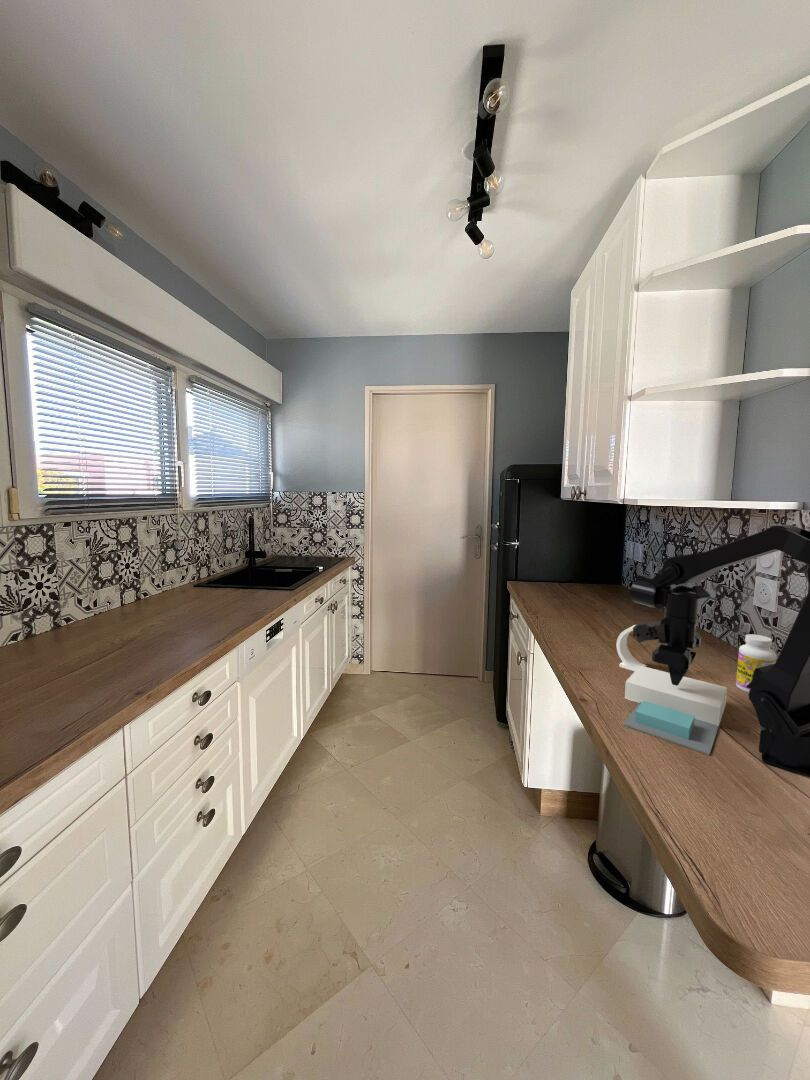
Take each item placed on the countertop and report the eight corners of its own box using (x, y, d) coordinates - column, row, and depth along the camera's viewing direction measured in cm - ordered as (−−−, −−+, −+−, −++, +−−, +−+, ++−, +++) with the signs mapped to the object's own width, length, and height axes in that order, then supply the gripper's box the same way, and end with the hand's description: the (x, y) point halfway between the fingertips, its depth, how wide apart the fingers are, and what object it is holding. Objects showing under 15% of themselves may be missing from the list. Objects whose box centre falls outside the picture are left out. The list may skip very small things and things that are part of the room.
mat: (718, 727, 81) (718, 726, 81) (709, 755, 72) (709, 753, 72) (639, 703, 91) (639, 701, 90) (623, 725, 82) (623, 724, 82)
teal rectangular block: (689, 728, 76) (688, 739, 76) (694, 715, 81) (694, 726, 81) (635, 711, 82) (635, 721, 83) (643, 700, 87) (642, 710, 87)
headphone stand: (639, 672, 106) (641, 627, 105) (615, 665, 111) (617, 622, 109) (646, 667, 109) (648, 624, 108) (622, 661, 114) (624, 619, 112)
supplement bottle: (728, 683, 100) (732, 632, 98) (756, 683, 100) (761, 632, 98) (750, 696, 93) (755, 642, 92) (780, 697, 93) (786, 642, 91)
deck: (725, 704, 90) (727, 687, 89) (718, 727, 81) (720, 708, 81) (639, 681, 101) (640, 665, 101) (624, 698, 93) (625, 681, 92)
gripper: (647, 599, 99) (643, 661, 101) (626, 616, 85) (622, 688, 87) (704, 608, 92) (698, 674, 93) (691, 628, 78) (684, 706, 80)
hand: (675, 684), depth 89 cm, fingers closed
